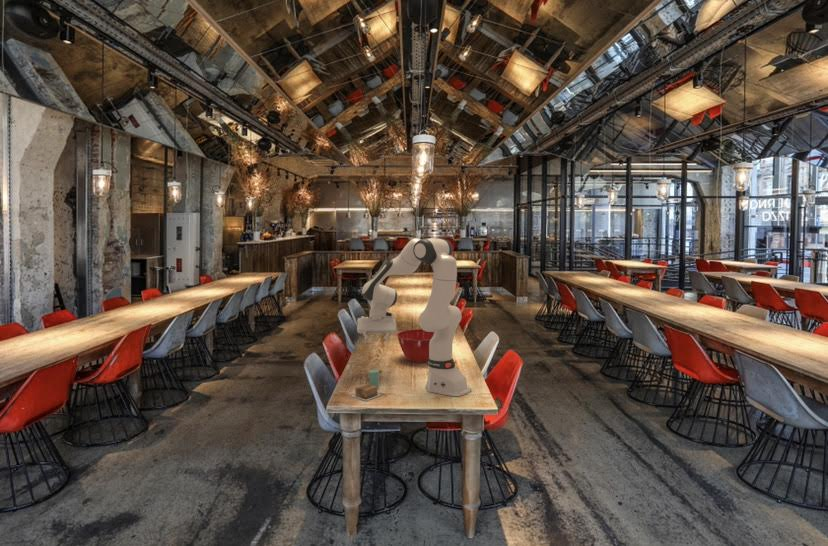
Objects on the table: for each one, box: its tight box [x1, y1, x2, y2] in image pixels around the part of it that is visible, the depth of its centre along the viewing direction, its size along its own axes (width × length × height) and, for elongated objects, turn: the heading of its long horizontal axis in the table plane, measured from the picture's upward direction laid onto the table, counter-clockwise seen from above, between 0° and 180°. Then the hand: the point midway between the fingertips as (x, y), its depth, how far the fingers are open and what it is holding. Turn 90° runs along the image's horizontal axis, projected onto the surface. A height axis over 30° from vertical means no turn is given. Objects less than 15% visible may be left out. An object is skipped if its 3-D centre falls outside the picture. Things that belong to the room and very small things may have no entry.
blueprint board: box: [348, 392, 385, 403], centre depth 228 cm, size 12×12×1 cm
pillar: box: [369, 369, 380, 389], centre depth 240 cm, size 4×4×8 cm
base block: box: [354, 383, 378, 399], centre depth 228 cm, size 7×7×4 cm
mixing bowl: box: [396, 328, 434, 364], centre depth 287 cm, size 28×28×16 cm
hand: (375, 340), depth 251 cm, fingers open, 8 cm apart
